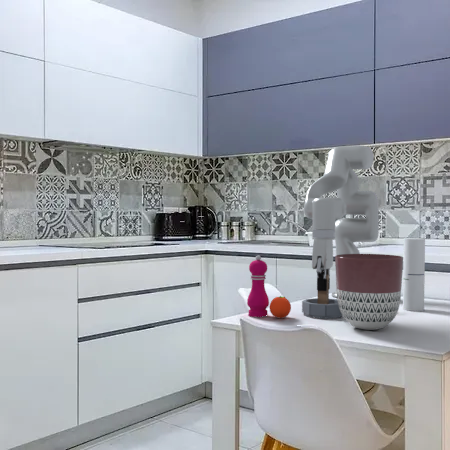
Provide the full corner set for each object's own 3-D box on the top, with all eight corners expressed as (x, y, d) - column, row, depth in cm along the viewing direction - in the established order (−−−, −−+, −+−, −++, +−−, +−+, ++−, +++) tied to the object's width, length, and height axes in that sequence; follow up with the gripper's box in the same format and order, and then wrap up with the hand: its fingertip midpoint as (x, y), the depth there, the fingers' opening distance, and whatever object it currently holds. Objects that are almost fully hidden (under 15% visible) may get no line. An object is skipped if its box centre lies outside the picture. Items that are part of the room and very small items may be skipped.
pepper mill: (243, 316, 191) (243, 255, 190) (252, 313, 197) (252, 254, 196) (263, 318, 187) (263, 256, 187) (272, 314, 194) (272, 255, 193)
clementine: (276, 314, 194) (276, 293, 194) (295, 316, 190) (295, 295, 190) (265, 318, 187) (265, 296, 187) (285, 320, 184) (285, 298, 183)
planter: (353, 319, 186) (353, 252, 185) (412, 327, 173) (413, 256, 173) (322, 329, 171) (323, 256, 170) (385, 338, 158) (386, 260, 158)
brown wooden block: (319, 309, 196) (320, 274, 196) (328, 310, 195) (328, 274, 194) (317, 311, 193) (317, 275, 193) (326, 312, 192) (326, 275, 192)
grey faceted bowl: (309, 310, 203) (310, 297, 203) (346, 313, 197) (347, 299, 197) (298, 316, 191) (298, 302, 191) (337, 319, 185) (337, 305, 185)
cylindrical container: (420, 311, 200) (421, 239, 199) (399, 309, 204) (400, 238, 203) (427, 309, 206) (427, 238, 205) (407, 307, 210) (407, 237, 209)
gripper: (319, 233, 202) (319, 286, 203) (305, 235, 188) (305, 292, 188) (340, 234, 199) (340, 287, 200) (328, 236, 184) (328, 294, 185)
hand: (323, 289), depth 194 cm, fingers closed on brown wooden block, 2 cm apart
